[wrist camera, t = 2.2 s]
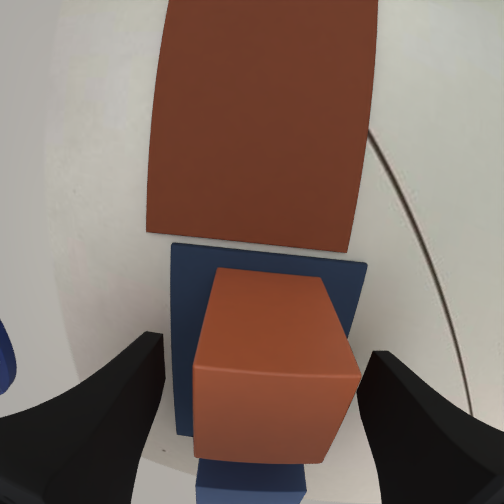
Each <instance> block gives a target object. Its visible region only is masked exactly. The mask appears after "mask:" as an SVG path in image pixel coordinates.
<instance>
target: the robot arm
mask: <svg viewBox="0 0 504 504" xmlns="http://www.w3.org/2000/svg"><path fill="white" fill-rule="evenodd" d="M165 379H166V377H165V362H164V343H163V334H161V333H154V332H148V331H145V332H144V333H143V334H142V335H140V336H139V337H138V338H137V339H136V340H135V341H134V342H132V343H131V344H130V345H129V346H128V347H127V348H126V349H124V350H123V351H122V352H121V353H120V354H118V355H117V356H116V357H115V358H114V359H112V360H111V361H110V362H109V363H107V364H106V365H105V366H104V367H102V368H101V369H100V370H98V371H97V372H96V373H94V374H93V375H91V376H90V377H89V378H87V379H86V380H84V381H83V382H81V383H80V384H78V385H77V386H75V387H73V388H71V389H70V390H68V391H66V392H65V393H63V394H61V395H59V396H57V397H55V398H53V399H51V400H48V401H46V402H44V403H42V404H40V405H38V406H35V407H32V408H30V409H27V410H24V411H21V412H18V413H15V414H12V415H9V416H5V417H2V418H0V504H131V498H132V492H133V488H134V482H135V478H136V473H137V469H138V464H139V460H140V457H141V454H142V451H143V448H144V445H145V443H146V440H147V437H148V434H149V432H150V429H151V426H152V423H153V421H154V418H155V415H156V412H157V410H158V407H159V404H160V401H161V396H162V392H163V388H164V383H165ZM356 393H357V399H358V406H359V411H360V416H361V420H362V423H363V426H364V429H365V432H366V436H367V439H368V442H369V445H370V448H371V451H372V455H373V458H374V461H375V465H376V469H377V473H378V479H379V485H380V492H381V500H382V504H504V432H503V431H500V430H498V429H496V428H494V427H491V426H489V425H487V424H485V423H483V422H481V421H480V420H478V419H476V418H474V417H472V416H471V415H469V414H467V413H466V412H464V411H463V410H461V409H460V408H458V407H456V406H455V405H454V404H452V403H451V402H449V401H448V400H447V399H445V398H444V397H443V396H441V395H440V394H439V393H438V392H436V391H435V390H434V389H433V388H431V387H430V386H429V385H428V384H427V383H425V382H424V381H423V380H422V379H421V378H420V377H418V376H417V375H416V374H415V373H414V372H413V371H412V370H410V369H409V368H408V367H407V366H406V365H405V364H404V363H402V362H401V361H400V360H399V359H398V358H397V357H395V356H394V355H393V354H392V353H390V352H389V351H373V352H372V354H371V357H370V360H369V362H368V365H367V367H366V370H365V372H364V375H363V377H362V380H361V382H360V385H359V387H358V389H357V392H356Z"/></svg>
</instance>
